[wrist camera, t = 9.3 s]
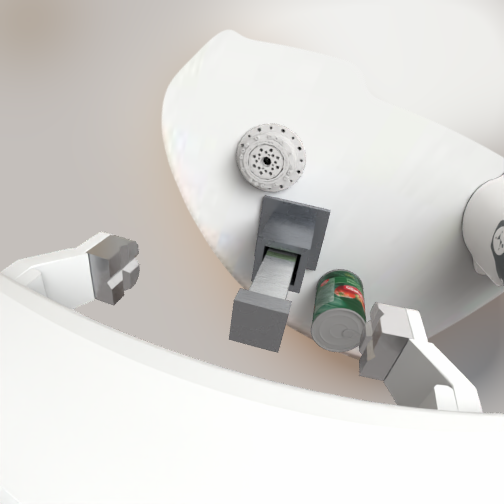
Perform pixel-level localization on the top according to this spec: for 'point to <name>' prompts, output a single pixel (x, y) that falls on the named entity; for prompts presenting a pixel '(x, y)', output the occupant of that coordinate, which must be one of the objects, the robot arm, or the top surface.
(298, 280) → the grey hollow housing
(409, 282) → the top surface
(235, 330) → the column
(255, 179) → the mechanical component
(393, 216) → the top surface
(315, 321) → the canned tomato
